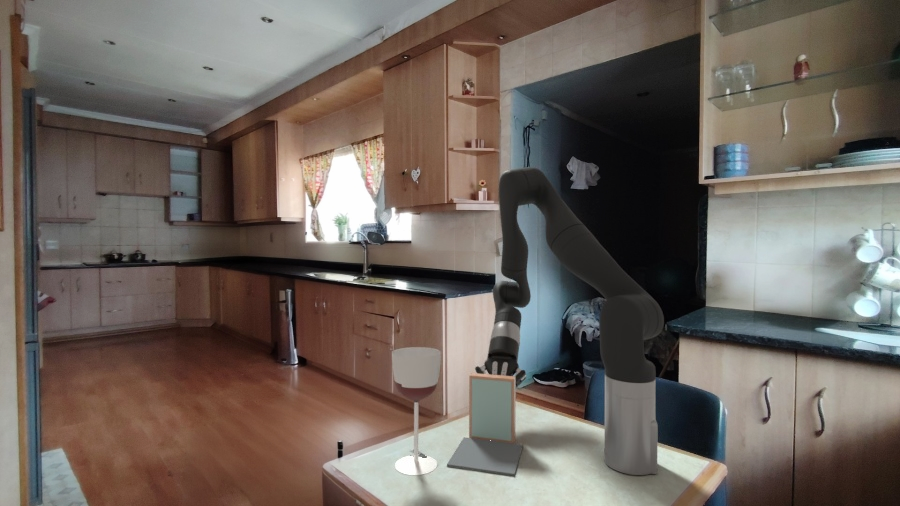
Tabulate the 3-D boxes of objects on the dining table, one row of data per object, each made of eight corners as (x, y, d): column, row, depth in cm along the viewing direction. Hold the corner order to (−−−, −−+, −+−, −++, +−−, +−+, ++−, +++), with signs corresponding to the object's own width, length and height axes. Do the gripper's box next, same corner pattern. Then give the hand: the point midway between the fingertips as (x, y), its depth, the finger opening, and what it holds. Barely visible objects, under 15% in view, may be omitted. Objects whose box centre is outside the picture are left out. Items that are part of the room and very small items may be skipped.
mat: (522, 446, 95) (522, 444, 95) (514, 476, 82) (514, 473, 82) (463, 439, 98) (463, 437, 98) (447, 466, 86) (447, 464, 86)
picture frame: (515, 439, 98) (515, 376, 98) (513, 444, 96) (514, 379, 96) (471, 434, 101) (471, 372, 101) (469, 438, 99) (469, 375, 99)
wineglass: (439, 476, 82) (440, 357, 82) (388, 475, 82) (388, 356, 82) (441, 454, 91) (441, 347, 91) (394, 453, 91) (395, 346, 91)
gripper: (477, 333, 113) (465, 396, 101) (529, 336, 109) (523, 401, 98) (481, 349, 118) (470, 411, 106) (531, 353, 114) (525, 417, 103)
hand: (495, 406), depth 102 cm, fingers closed
